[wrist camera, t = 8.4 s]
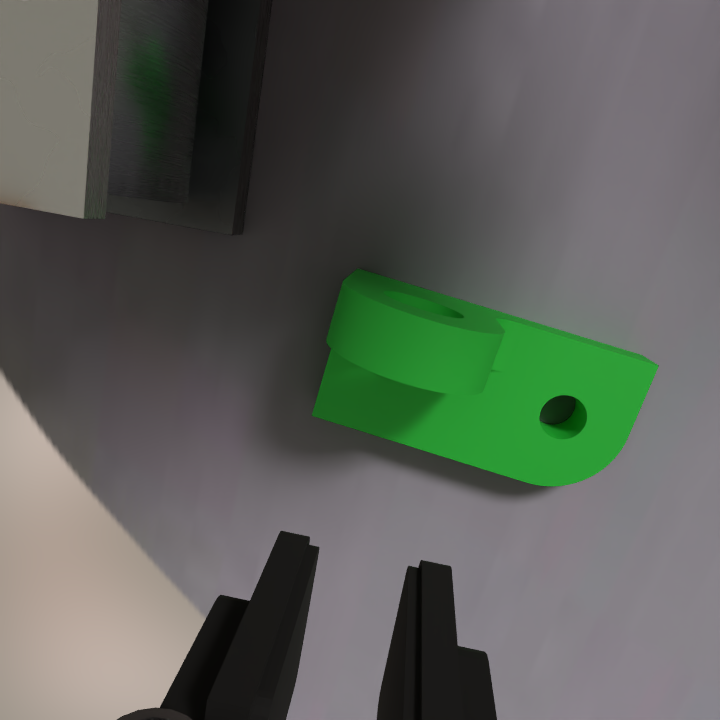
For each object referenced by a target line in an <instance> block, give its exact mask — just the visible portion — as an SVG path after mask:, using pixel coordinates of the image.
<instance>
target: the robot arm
mask: <svg viewBox="0 0 720 720" xmlns="http://www.w3.org/2000/svg"><path fill="white" fill-rule="evenodd" d="M309 542H310V537H308V536H304V535H299V534H294V533H289V532H284V531H280V533H279V535H278V538H277V540H276V542H275V544H274V547H273V549H272V551H271V554H270V556H269V558H268V561H267V563H266V565H265V567H264V570H263V572H262V574H261V577H260V579H259V581H258V584H257V586H256V588H255V591H254V593H253V595H252V597H251V600H250V601H247V600H243V599H238V598H233V597H229V596H224V595H220V596H219V597H218V598H217V599H216V601H215V603H214V605H213V607H212V608H211V610H210V612H209V614H208V616H207V618H206V620H205V622H204V624H203V626H202V628H201V630H200V631H199V633H198V635H197V637H196V639H195V641H194V643H193V645H192V647H191V649H190V651H189V653H188V654H187V656H186V659H185V660H184V662H183V664H182V666H181V668H180V670H179V672H178V674H177V676H176V677H175V679H174V681H173V683H172V685H171V687H170V689H169V691H168V693H167V695H166V697H165V699H164V701H163V703H162V704H161V706H160V708H150V709H143V710H137V711H135V712H132V713H130V714H127V715H124V716H122V717H120V718H119V719H117V720H286V717H287V713H288V709H289V706H290V702H291V698H292V694H293V691H294V687H295V682H296V678H297V673H298V668H299V662H300V657H301V651H302V645H303V640H304V634H305V628H306V622H307V617H308V611H309V605H310V600H311V594H312V588H313V582H314V577H315V571H316V565H317V560H318V554H319V547H316V546H312V545H309ZM377 720H497V717H496V710H495V703H494V696H493V689H492V682H491V675H490V668H489V661H488V657H487V654H486V653H485V652H484V651H479V650H474V649H470V648H465V647H460V646H458V645H457V632H456V620H455V607H454V594H453V581H452V569H451V566H447V565H442V564H437V563H433V562H428V561H423V560H421V561H420V564H419V568H417V567H412V566H408V568H407V572H406V576H405V581H404V585H403V590H402V594H401V599H400V603H399V608H398V612H397V617H396V622H395V626H394V631H393V635H392V640H391V644H390V649H389V653H388V658H387V663H386V667H385V672H384V676H383V681H382V685H381V691H380V697H379V703H378V713H377Z"/></svg>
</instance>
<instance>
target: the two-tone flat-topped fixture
mask: <svg viewBox="0 0 720 720" xmlns="http://www.w3.org/2000/svg"><path fill="white" fill-rule="evenodd" d="M271 6H272V0H0V203H2V204H7V205H12V206H18V207H23V208H29V209H34V210H39V211H45V212H50V213H56V214H61V215H67V216H72V217H77V218H83V219H105V216H106V212H109V213H114V214H119V215H125V216H130V217H136V218H141V219H147V220H152V221H157V222H163V223H168V224H174V225H179V226H185V227H190V228H196V229H201V230H206V231H212V232H217V233H223V234H228V235H240V234H242V233H243V225H244V217H245V210H246V202H247V194H248V186H249V178H250V170H251V163H252V155H253V147H254V139H255V131H256V123H257V116H258V108H259V100H260V92H261V84H262V76H263V69H264V61H265V53H266V45H267V37H268V29H269V22H270V14H271Z"/></svg>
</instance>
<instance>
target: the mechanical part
mask: <svg viewBox="0 0 720 720" xmlns="http://www.w3.org/2000/svg"><path fill="white" fill-rule="evenodd" d="M326 342H327V344H328V346H329V347H330V348H331V351H330V354H329V358H328V361H327V365H326V368H325V371H324V375H323V378H322V382H321V385H320V389H319V392H318V396H317V399H316V403H315V406H314V409H313V413H312V416H314V417H318V418H321V419H324V420H327V421H330V422H334V423H337V424H340V425H343V426H346V427H350V428H353V429H356V430H359V431H362V432H366V433H369V434H372V435H375V436H378V437H382V438H385V439H388V440H391V441H395V442H398V443H401V444H404V445H407V446H411V447H414V448H417V449H420V450H423V451H427V452H430V453H433V454H436V455H439V456H443V457H446V458H449V459H452V460H456V461H459V462H462V463H465V464H468V465H472V466H475V467H478V468H481V469H484V470H488V471H491V472H494V473H497V474H500V475H504V476H507V477H510V478H513V479H516V480H520V481H523V482H526V483H530V484H534V485H540V486H563V485H569V484H573V483H576V482H579V481H582V480H585V479H587V478H589V477H591V476H593V475H595V474H596V473H598V472H599V471H601V470H602V469H604V468H605V467H606V466H607V465H608V464H610V463H611V461H612V460H613V459H614V458H615V457H616V456H617V455H618V453H619V452H620V451H621V449H622V448H623V446H624V444H625V442H626V440H627V438H628V436H629V434H630V432H631V429H632V427H633V425H634V422H635V420H636V418H637V415H638V413H639V411H640V408H641V406H642V404H643V401H644V399H645V397H646V394H647V392H648V390H649V387H650V385H651V383H652V380H653V378H654V376H655V373H656V371H657V369H658V366H659V365H657V364H655V363H654V362H652V361H650V360H649V359H647V358H646V357H644V356H642V355H640V354H636V353H633V352H630V351H626V350H623V349H620V348H617V347H613V346H610V345H607V344H604V343H600V342H597V341H594V340H591V339H587V338H584V337H581V336H577V335H574V334H571V333H568V332H564V331H561V330H558V329H555V328H551V327H548V326H545V325H541V324H538V323H535V322H532V321H528V320H525V319H522V318H519V317H515V316H512V315H509V314H505V313H502V312H499V311H496V310H492V309H489V308H486V307H483V306H479V305H476V304H473V303H470V302H466V301H463V300H460V299H456V298H453V297H450V296H447V295H443V294H440V293H437V292H434V291H430V290H427V289H424V288H420V287H417V286H414V285H411V284H407V283H404V282H401V281H398V280H394V279H391V278H388V277H384V276H381V275H378V274H375V273H371V272H368V271H365V270H362V269H356V270H355V271H354V272H353V273H352V274H350V275H349V276H348V277H347V278H346V279H345V280H343V282H342V286H341V289H340V293H339V296H338V300H337V303H336V307H335V310H334V314H333V317H332V321H331V324H330V328H329V331H328V335H327V338H326ZM561 395H568V396H572V397H575V401H576V404H575V409H574V412H573V414H572V415H571V416H570V417H569V418H568V419H567V420H566V421H564V422H562V423H559V424H554V425H551V424H546V423H543V422H541V421H540V418H539V417H540V412H541V409H542V407H543V406H544V405H545V403H546V402H547V401H549V400H550V399H552V398H554V397H556V396H561Z"/></svg>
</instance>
